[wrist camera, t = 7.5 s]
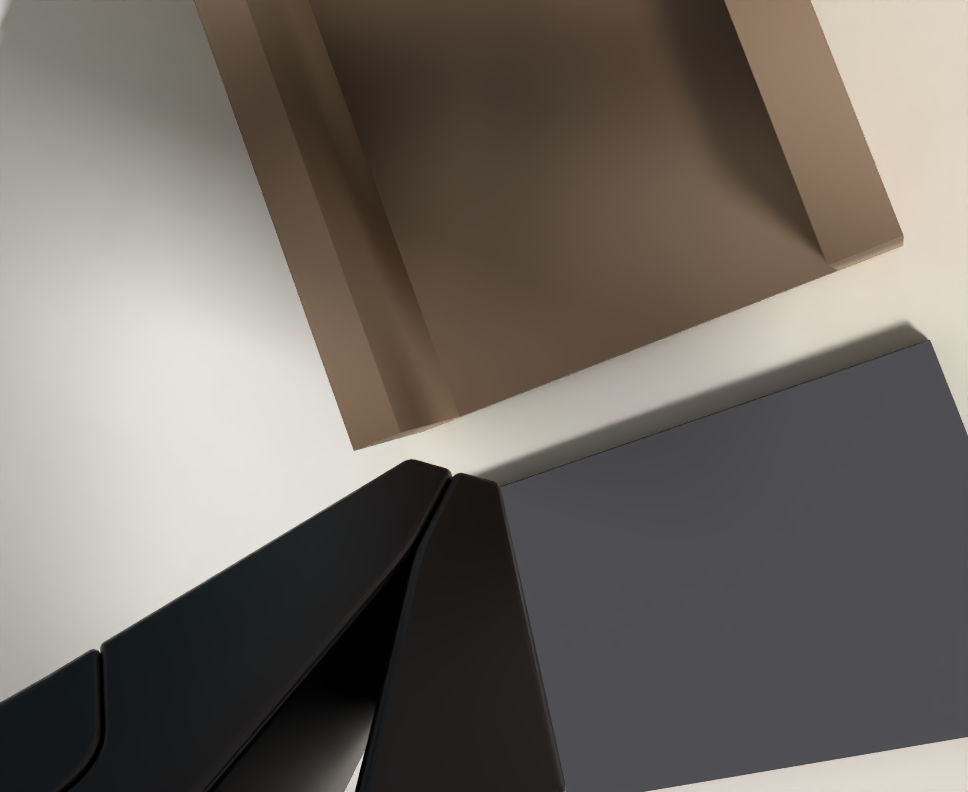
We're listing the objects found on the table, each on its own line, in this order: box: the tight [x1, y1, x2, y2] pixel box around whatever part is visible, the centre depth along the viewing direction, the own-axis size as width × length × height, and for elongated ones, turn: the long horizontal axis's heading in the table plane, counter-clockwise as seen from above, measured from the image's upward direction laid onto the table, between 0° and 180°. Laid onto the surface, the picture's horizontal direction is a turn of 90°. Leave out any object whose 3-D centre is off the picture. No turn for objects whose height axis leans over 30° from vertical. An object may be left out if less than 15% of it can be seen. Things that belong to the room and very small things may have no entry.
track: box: [194, 0, 903, 451], centre depth 16 cm, size 11×9×2 cm
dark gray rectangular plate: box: [500, 340, 968, 792], centre depth 16 cm, size 6×9×1 cm, turn 112°
